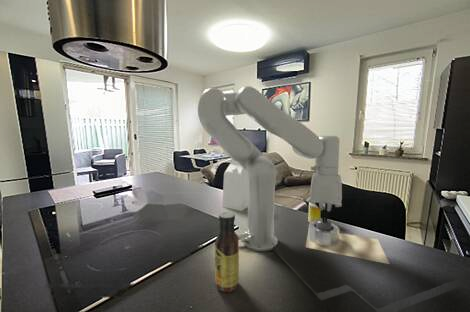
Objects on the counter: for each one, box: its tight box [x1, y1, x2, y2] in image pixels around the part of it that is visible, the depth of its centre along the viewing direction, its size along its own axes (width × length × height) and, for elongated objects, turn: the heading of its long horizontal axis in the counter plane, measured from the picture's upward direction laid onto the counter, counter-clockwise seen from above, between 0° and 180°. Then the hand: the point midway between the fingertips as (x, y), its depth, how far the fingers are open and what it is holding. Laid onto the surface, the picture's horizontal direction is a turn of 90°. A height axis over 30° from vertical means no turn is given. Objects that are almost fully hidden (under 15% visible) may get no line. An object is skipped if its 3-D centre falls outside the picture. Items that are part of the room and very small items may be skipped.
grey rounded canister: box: [316, 218, 332, 231], centre depth 77 cm, size 5×5×6 cm
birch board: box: [305, 229, 390, 265], centre depth 75 cm, size 24×16×1 cm, turn 67°
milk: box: [222, 159, 248, 212], centre depth 116 cm, size 12×12×26 cm
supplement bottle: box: [307, 201, 326, 223], centre depth 92 cm, size 7×7×13 cm
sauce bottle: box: [214, 211, 240, 293], centre depth 55 cm, size 6×6×20 cm
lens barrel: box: [307, 221, 340, 247], centre depth 77 cm, size 10×10×5 cm
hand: (324, 220), depth 77 cm, fingers closed
